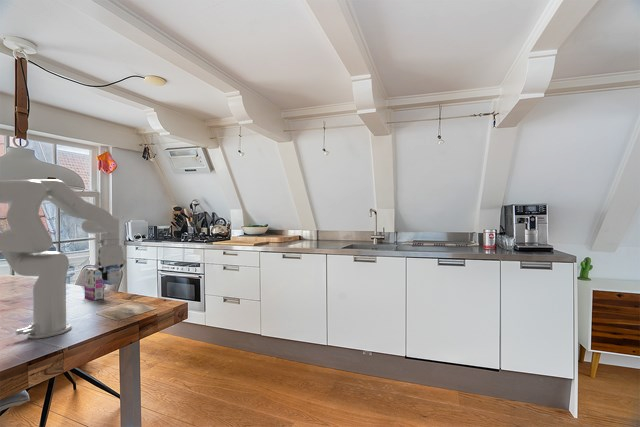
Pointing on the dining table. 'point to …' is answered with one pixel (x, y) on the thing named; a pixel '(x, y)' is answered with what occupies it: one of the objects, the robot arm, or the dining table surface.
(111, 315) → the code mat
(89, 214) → the robot arm
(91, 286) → the candy bar box
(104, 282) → the medicine box
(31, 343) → the dining table surface
